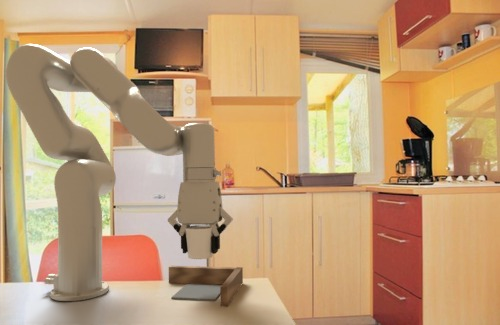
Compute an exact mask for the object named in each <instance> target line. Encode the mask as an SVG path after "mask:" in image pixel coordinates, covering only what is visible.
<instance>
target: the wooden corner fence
mask: <svg viewBox="0 0 500 325" xmlns="http://www.w3.org/2000/svg"><path fill="white" fill-rule="evenodd" d="M243 268H244V267H241V266H236V267H228V266H227V267H225V266H200V265H197V266H196V265H195V266H194V265H170V266H168V283H169V284H195V285H215V284H222V285H220V286H221V287H220V295H219V296H220V298H219V299H220V303H219V304H220V307H227V308H228V307H229V306H230V304H231V302H232V301H233V299H234V297H235V296H236V295H237V293H238V291H239V290H240V288H241V287H242V285H243V284H242V283H244V282H243V281H244V280H243V279H244V275H243V274H244V273H243V272H244V271H243V270H244V269H243ZM241 284H242V285H241ZM240 286H241V287H240ZM238 289H239V290H238Z"/></svg>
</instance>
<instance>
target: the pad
mask: <svg viewBox="0 0 500 325" xmlns="http://www.w3.org/2000/svg"><path fill="white" fill-rule="evenodd" d="M221 286H222V285H215V284H189V283H185V285H184V286H183V287H182V288H181V289H179V290H178V291H177V292H176V293H175V294H173V295H171V300H186V301H203V302H205V301H207V302H215V301H217V300H218V298H219V297H218V296H220V287H221Z"/></svg>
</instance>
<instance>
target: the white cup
mask: <svg viewBox="0 0 500 325" xmlns="http://www.w3.org/2000/svg"><path fill="white" fill-rule="evenodd" d="M211 229H212V228H211V227H210V225H209V224H199V225H195V224H193V225H190V226H189V227H187V228H185V230H186V240H187V250H188V252H187V258H188V259H190V260H207V259H210V258H213V255H214V254H213V253H212V243H211V237H212V236H213V232H212V230H211Z"/></svg>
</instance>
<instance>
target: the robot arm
mask: <svg viewBox="0 0 500 325" xmlns="http://www.w3.org/2000/svg"><path fill="white" fill-rule="evenodd" d="M8 58H9V59H8V60H7V63H6V70H5V80H6V83H7V87H8V90H9V92H10V94H11V96H12V98H13V100H14V101H15V103H16V105H17V107H18V108H19V110H20V111H21V113H22V115H23V117H24V118H25V121H26V123H27V125H28V127H29V128H30V130H31V132H32V134H33V136H34V138H35V140H36V141H37V143H38V145H39V147H40V149H41V150H42V152H43V153H44V154H45V155H46V156H47V157H49V158H51V159H54V160H58V161H59V160H61V161H65V162H64V163H63V164H61V165H60V166H59V167H58V169H57V171H56V173H55V176H54V184H53V185H54V191H55V197H56V201H57V202H56V203H57V204H56V205H57V217H58V218H57V219H58V220H57V221H58V222H57V223H58V225H57V228H58V230H57V231H58V232H57V233H58V234H57V236H58V237H57V273H49V274H47V276H46V278H45V279H44V280H43V281H44V284H45V285H53V289H51V290H50V293H49V294H50V295H49V297H50V299H52V300H54V301H59V302H77V301H84V300H85V301H86V300H90V299H93V298H98V297H99V296H102V295H104V294H106V293H108V291H109V290H110V284H109V283H108V282H106V281H103V212H102V210H103V209H102V205H101V200H100V197H104V196H106V195H107V194H109V193H110V192H112V190H113V189H114V188H115V184H116V181H117V179H116V178H117V177H116V172H115V170H114V167H113V166H112V165H113V164H111V162H110V159H109V158H108V156H107V154H106V153H105V150H104V149H103V147H102V145H101V144H100V142H99V140H98V139H97V137H96V136H95V134H94V133H93V132H92V131H91V130H90V129H88V128H87V127H86V126H83V125H80V124H78V123H74V122H73V121H72V120H71V119H70V117H69V116H68V115H67V113H66V111H65V110H64V107H63V105H62V104H61V102H60V100H59V99H58V97H57V96H56V95H55V94H54V92H53V91H52V90H55V91H58V92H65V93H66V92H69V93H70V92H71V93H75V92H76V93H92V94H93V95H94V96H95V97H96V99H98V100H99V101H100V102H101V103H102V104H103V105H104V106H105V107H106V108H107V109H108V110H109V111H110V112H111V113H112V115H113V116H114V117H115V118H116V120H117V121H118V122H119V123H120V124H121V125H122V126H123V127H124V128H125V130H127V131H128V132H129V133H130V134H131V135H132V137H134V138H135V139H136V140H137V141H138V142H139V143H140V144H141V145H142V146H144V147H145V149H147V150H148V151H149V152H151V153H154V154H158V155H162V156H165V157H172V156H179V155H182V168H183V169H182V181H181V182H180V184H179V189H178V197H177V208H176V210H175V211H174V212H173V213H172V214H171V215H170V216H169V217H168V218H167V222H168V223H169V224H170V226H172V227H173V229H174V230H175V231H176V233H177V234H178V235H179V237H180V248H181V250H182V254H188V250H187V240H186V230H185V228H187V227H189V226H192V225H210V227H211V228H212V229H211V230H212V232H213V236H212V237H211V243H212V253H213V255H215V254H216V253H217V252H219V250H220V249H221V236H220V235H221V234H222V233H223V232H224V231H225V230H226V229H227V227H228V226H229V225H230V224H231V223H233V221H234V219H233V217H232V216H231V215H230V214H229V213H228V212H227V211H226V210H225V209H224V207H223V200H222V192H221V186H220V181H216V179H217V177H221V176H222V171H221V170H217V169H216V161H215V160H216V157H215V153H216V152H215V148H216V147H215V129H214V127H213V125H211V124H210V123H205V122H204V123H203V122H191V123H188V124H185V125H184V126H178V125H174V124H173V123H170V122H169V121H167V119H165V118H164V116H162V115H161V114H160V113H159V112H158V111H157V110H156V109H155V108H153V107H152V105H151V104H150V103H149V102H147V100H146V99H145V98H144V96H142V94H141V91H140V89H139V87H138V86H137V85H136V84H135V83H134V82H133V81H132V80H130V78H128V77H127V76H126V75H125V74H124V73H123V72H122V70H120V69H119V68H118V66H117V64H115V63H114V62H113V61H112V60H111V59H110V58H108V57H107V56H106V55H104V54H103V53H102V52H101V51H99V50H97V49H95V48H92V47H82V48H79V49H77V50H75V51H74V53H73V54H72V55H71V57H70V59H66V58H64V57H62V56H60V54H57V53H56V52H54V51H53V50H51V49H49V48H47V47H46V46H42V45H39V44H33V43H27V44H22V45H20V46H18V47H17V48H15V49H14V50H13V52H12V53H11V55H10V56H9V57H8ZM223 219H224V220H223ZM222 220H223V222H222ZM220 222H222V223H221V225H219V223H220Z"/></svg>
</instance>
